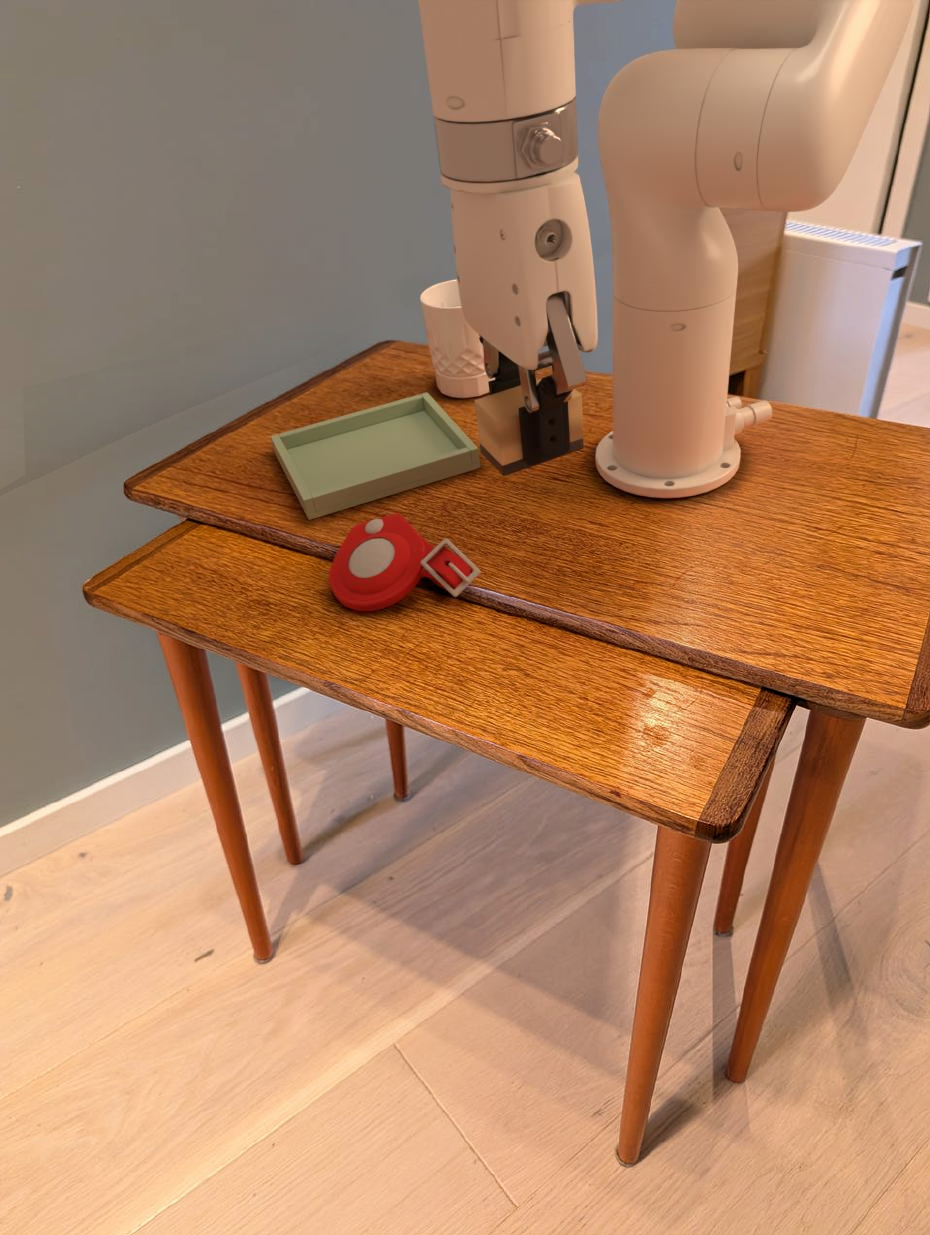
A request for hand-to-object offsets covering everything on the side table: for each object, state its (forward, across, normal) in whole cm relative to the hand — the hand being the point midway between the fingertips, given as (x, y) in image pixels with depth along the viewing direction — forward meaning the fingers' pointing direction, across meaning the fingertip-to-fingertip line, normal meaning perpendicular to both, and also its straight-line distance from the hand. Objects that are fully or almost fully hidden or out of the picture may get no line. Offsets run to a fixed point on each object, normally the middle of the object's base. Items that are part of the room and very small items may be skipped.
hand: (531, 440), depth 60 cm
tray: (+13, +26, +5) cm, 30 cm away
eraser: (+1, 0, 0) cm, 1 cm away
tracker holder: (+13, +6, +9) cm, 17 cm away
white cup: (+14, +36, -10) cm, 40 cm away
